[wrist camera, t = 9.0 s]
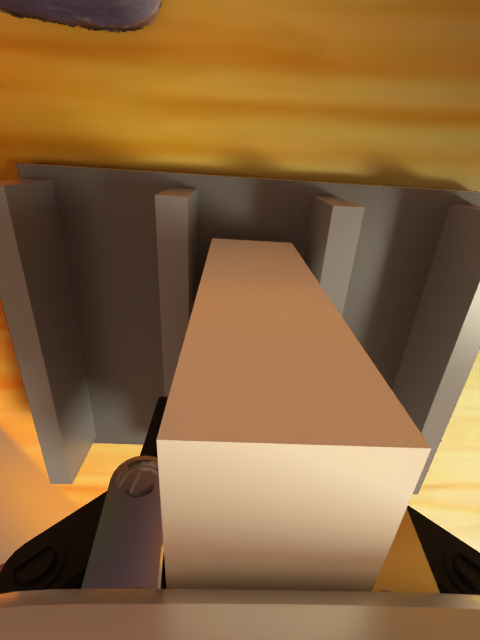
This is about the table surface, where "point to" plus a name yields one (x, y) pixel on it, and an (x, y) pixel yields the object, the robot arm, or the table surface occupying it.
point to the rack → (185, 275)
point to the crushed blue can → (87, 12)
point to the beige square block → (279, 436)
